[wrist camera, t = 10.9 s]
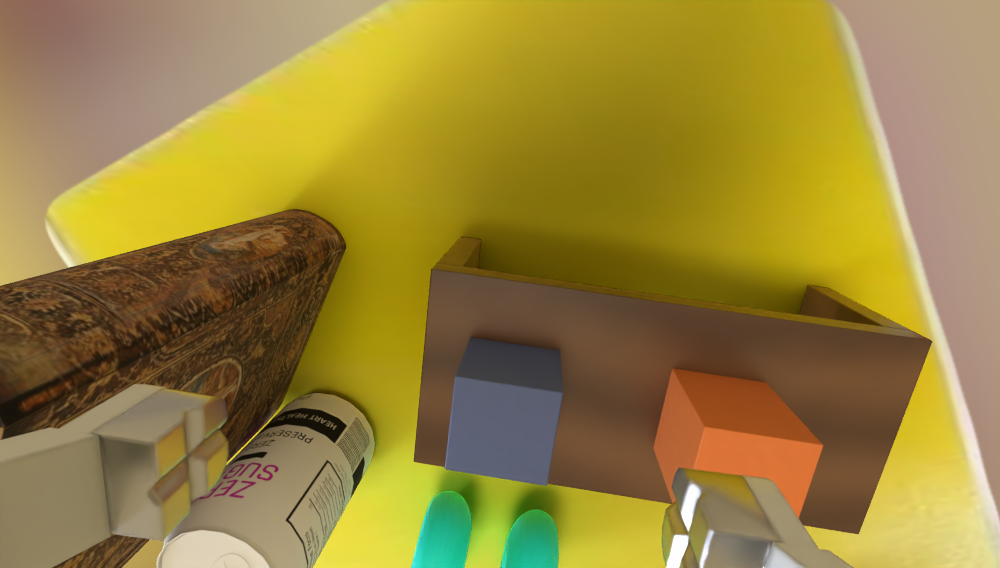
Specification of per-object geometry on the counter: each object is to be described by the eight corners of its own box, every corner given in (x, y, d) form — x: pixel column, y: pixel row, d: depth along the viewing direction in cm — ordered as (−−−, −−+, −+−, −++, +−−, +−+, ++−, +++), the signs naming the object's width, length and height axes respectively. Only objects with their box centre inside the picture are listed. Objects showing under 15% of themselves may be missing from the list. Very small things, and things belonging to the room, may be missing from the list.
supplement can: (335, 494, 44) (232, 666, 30) (261, 430, 43) (117, 576, 28) (397, 437, 42) (320, 592, 28) (321, 369, 41) (199, 492, 26)
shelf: (460, 236, 37) (431, 268, 27) (829, 287, 36) (933, 341, 26) (444, 386, 40) (413, 462, 31) (781, 438, 39) (858, 534, 29)
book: (283, 198, 37) (-184, 299, 13) (352, 232, 38) (13, 391, 14) (218, 380, 42) (-220, 698, 18) (279, 409, 42) (-72, 762, 18)
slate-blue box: (470, 336, 28) (454, 376, 23) (560, 350, 28) (563, 392, 23) (460, 417, 30) (444, 469, 25) (547, 430, 29) (547, 486, 25)
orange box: (671, 367, 28) (704, 426, 22) (766, 382, 28) (824, 445, 22) (652, 448, 29) (679, 523, 23) (742, 462, 29) (791, 542, 23)
